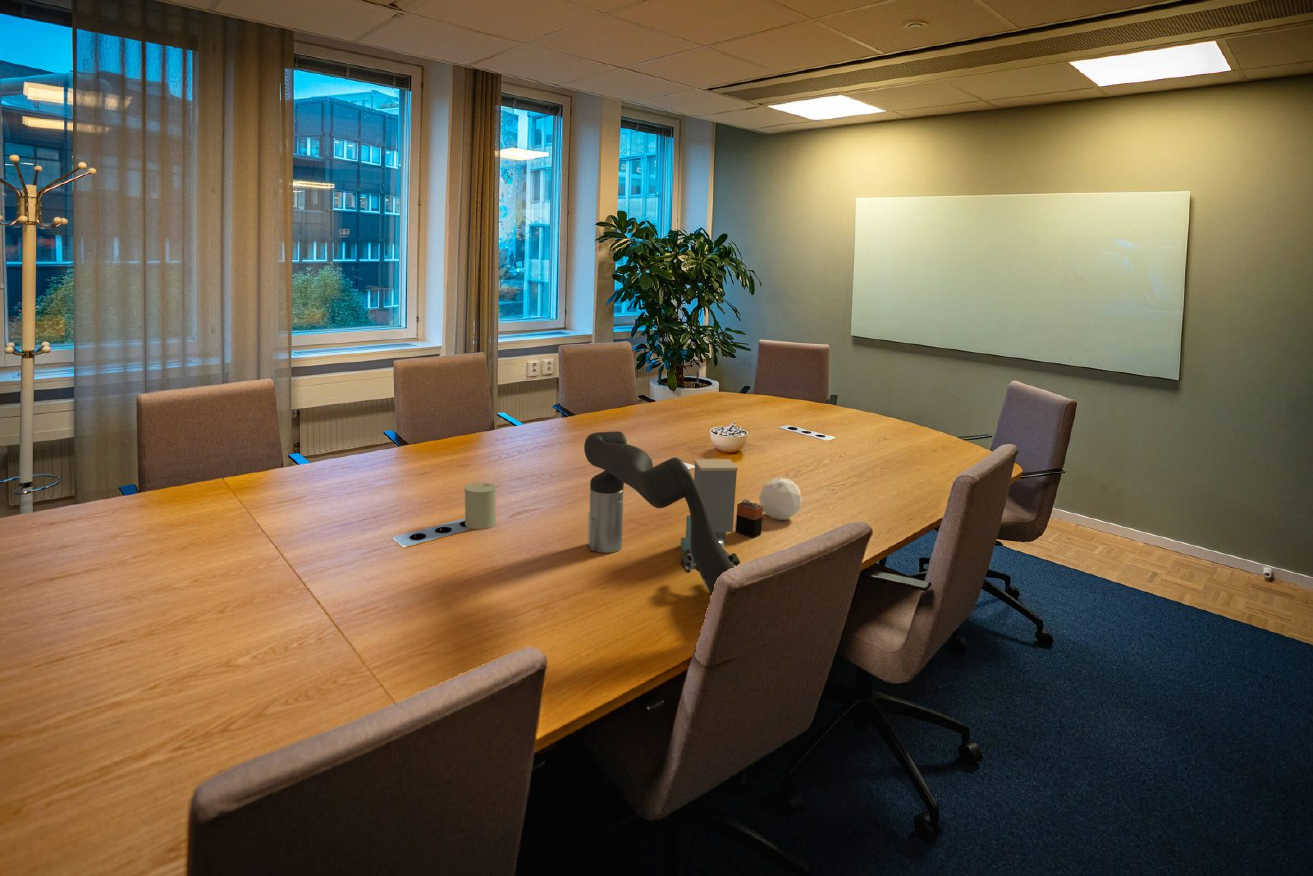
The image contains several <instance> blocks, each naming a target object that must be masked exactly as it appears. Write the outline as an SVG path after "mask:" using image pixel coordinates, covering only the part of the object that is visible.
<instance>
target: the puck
mask: <svg viewBox="0 0 1313 876" xmlns="http://www.w3.org/2000/svg"><path fill="white" fill-rule="evenodd" d="M718 540H719V542H720V544H721V546H722V547H723V549H724V550H725V548H724V547H725V543H724V540H723V539H721V538H718Z"/></svg>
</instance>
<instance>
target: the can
mask: <svg viewBox="0 0 1313 876" xmlns="http://www.w3.org/2000/svg"><path fill="white" fill-rule="evenodd" d="M496 493H497V486H496V485H495V484H493V483H489V482H473V483H469V484H466V485H465V487H464V504H465V505H464V507H465V509H464V510H465V511H464V515H465V520H464V525H465V527H467V528H468V529H473V530H486V529H487V530H488V529H491V528H493V527H495V526H497V513H496V512H497V511H496V508H497V505H496V501H497V499H496V498H497V497H496Z"/></svg>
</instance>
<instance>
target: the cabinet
mask: <svg viewBox="0 0 1313 876" xmlns="http://www.w3.org/2000/svg"><path fill="white" fill-rule="evenodd" d="M693 463H694V474H693V475H694V476H693V480H694V482H695V484H696V487H697V489H698V491H699V494H700V496H701V499H702V501H703V503H704V506H705V509H706V511H707V514H708V516H709V519H710V521H711V524H712V526H713V529H714V531H715V534H716V536H717V538H721V539H723V540H724V544H726V542H727V541H726V540H727V539H726V537H727V533H734V532H733V531H734V518H735V516H734V515H735V505H736V504H735V503H736V486H737V473H738V470H739V467H738V466H737V465H736V464H735V463H734V462H733V461H732V460H731V459H730V458H728V459H727V458H726V459H720V458H719V459H715V458H714V459H712V458H711V459H709V458H708V459H694V462H693Z"/></svg>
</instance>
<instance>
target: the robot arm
mask: <svg viewBox="0 0 1313 876" xmlns="http://www.w3.org/2000/svg"><path fill="white" fill-rule="evenodd" d="M583 448H584V449H583V450H584V455H585V458H586V459H587V461H588V463H589V464H590V465H591V466H593V467H596V468H599V469H602V472H600V473H598V474H596V475H594V476H593V477H591V479H590V484H589V485H590V486H589V512H588V526H587V527H588V528H587V529H588V530H587V531H588V533H587V545H588V550H589V552H595V553H601V554H603V553H604V554H606V553H607V554H609V553H616V552H618V551H620V550H621V549H622V545H623V521H624V519H623V516H624V489H625V487H624V486H625V485H624V484H626V485H628V487H631V488H632V489H633V490H635V491H636V492H637V493H638V494H639V495H640V497H642V498H643V499H644V500H645V501H646V502H647V503H649V505H650V506H652V507H653V508H656V509H664V508H666V507H669V506H671V505H673V504H674V503H677V502H678V501H680V500H682V499H685V501H686V503H687V507H688V511H689V514H690V515H689V516H691V538H690V546H691V550H690V549H687V551H685V553H684V554H680V565H681V568H682V569H683V571H684V572H685V573H687V574H690V573H691V571H693V570H695V571H697V573H699V575H700V577H701V579H702V580H703V583H704V585H705V586H706V588H707V590H708V591H709V595H710V596H711V595H712V592H713V590H714V584H715V582H716V580H717V578H718V577H719V576H720V575H721V574H722V573H723V572H725V571H727V570H728V569H730V568H734V566H737V565H738V564H740V565H741V560H740V558H739V557H738V555H737V554H736V553H734V552H733V553H731V554H729V552H727V550H725V548H724V549H723V547H722V546H721V544H720V542H719V540H718V538H717V536H716V534H715V531H714V529H713V526H712V524H711V521H710V519H709V516H708V514H707V511H706V509H705V506H704V503H703V501H702V499H701V496H700V494H699V491H698V489H697V487H696V484H695V482H694V476H693V475H692V474H691V472H690V470H689V467H688V466H687V465H686V463H684V462H683V460H682V459H680V458H678V457H671V458H669V459H667V460H665V461H663V462H661V463H659V464H657V465H655V466H654V463H653V461H652V458H651V456H650V455H649V454H648V453H647V452H646V451H644V450H643V449H641V448H639V447H637V446H634V445H631V444H628V443H627V438H626V436H625V434H624V433H623V432H622V431H618V430H617V431H600V432H598V431H597V432H593V433H591V434H589V435H588V436H587V437H586V439H585V440H584V446H583ZM692 558H693V560H694V561H693V562H692Z"/></svg>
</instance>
